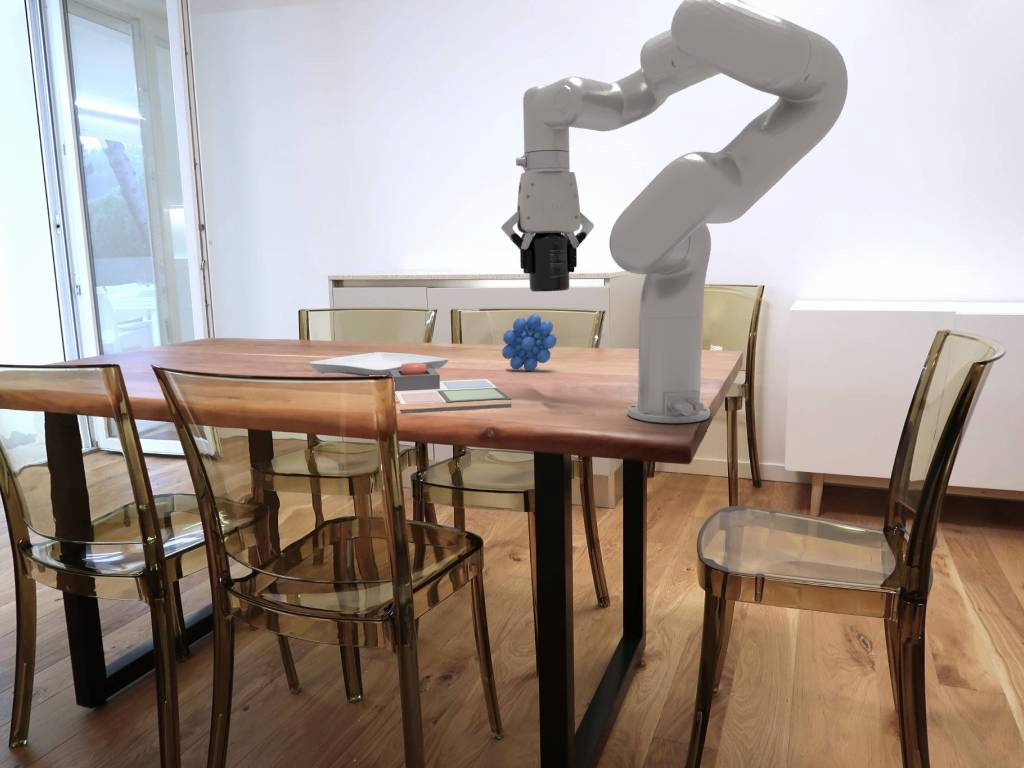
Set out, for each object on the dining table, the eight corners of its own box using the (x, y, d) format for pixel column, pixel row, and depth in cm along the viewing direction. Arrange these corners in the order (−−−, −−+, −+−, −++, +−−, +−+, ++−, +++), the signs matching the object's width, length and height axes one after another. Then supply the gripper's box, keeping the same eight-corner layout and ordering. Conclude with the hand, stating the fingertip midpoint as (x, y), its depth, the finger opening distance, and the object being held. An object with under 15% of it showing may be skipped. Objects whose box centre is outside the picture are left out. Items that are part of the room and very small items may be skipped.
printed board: (512, 408, 136) (512, 398, 135) (402, 414, 131) (402, 404, 131) (486, 386, 156) (486, 378, 155) (390, 391, 151) (389, 382, 151)
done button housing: (439, 388, 145) (439, 374, 145) (394, 391, 143) (393, 376, 143) (433, 381, 153) (433, 368, 153) (389, 383, 151) (389, 370, 151)
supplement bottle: (570, 289, 144) (569, 219, 142) (568, 291, 138) (567, 217, 136) (530, 290, 145) (529, 220, 143) (527, 292, 138) (526, 219, 136)
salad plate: (378, 364, 187) (378, 349, 186) (451, 372, 175) (451, 356, 174) (306, 377, 170) (305, 361, 169) (381, 387, 158) (380, 369, 157)
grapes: (560, 368, 177) (560, 312, 175) (554, 373, 170) (554, 315, 168) (506, 367, 179) (506, 311, 177) (499, 372, 173) (498, 314, 171)
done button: (428, 377, 146) (427, 365, 146) (403, 378, 145) (402, 366, 145) (424, 373, 150) (424, 362, 150) (400, 374, 149) (400, 363, 149)
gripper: (501, 162, 132) (504, 274, 135) (603, 162, 136) (604, 271, 139) (491, 167, 140) (494, 273, 142) (589, 167, 144) (590, 270, 146)
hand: (548, 271), depth 141 cm, fingers closed on supplement bottle, 6 cm apart
